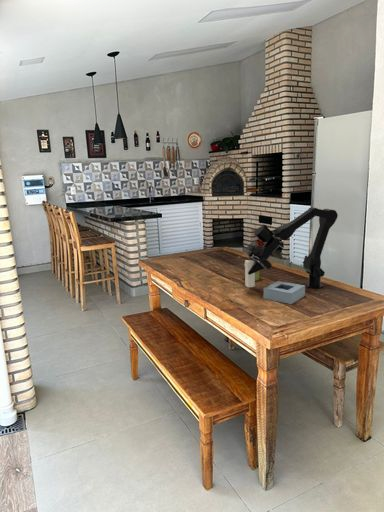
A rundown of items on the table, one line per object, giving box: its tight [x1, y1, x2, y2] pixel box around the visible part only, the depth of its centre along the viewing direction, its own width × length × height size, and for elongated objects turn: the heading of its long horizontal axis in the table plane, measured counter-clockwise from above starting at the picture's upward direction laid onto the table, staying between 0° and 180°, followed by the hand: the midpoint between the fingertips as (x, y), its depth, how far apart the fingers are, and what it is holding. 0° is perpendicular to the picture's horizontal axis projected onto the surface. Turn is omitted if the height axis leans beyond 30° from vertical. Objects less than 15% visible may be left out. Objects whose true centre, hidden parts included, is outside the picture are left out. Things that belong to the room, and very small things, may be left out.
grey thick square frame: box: [263, 280, 306, 305], centre depth 181 cm, size 14×14×5 cm
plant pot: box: [243, 263, 261, 282], centre depth 210 cm, size 9×9×9 cm
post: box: [244, 259, 256, 288], centre depth 186 cm, size 4×4×12 cm
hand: (247, 273), depth 186 cm, fingers closed on post, 3 cm apart
